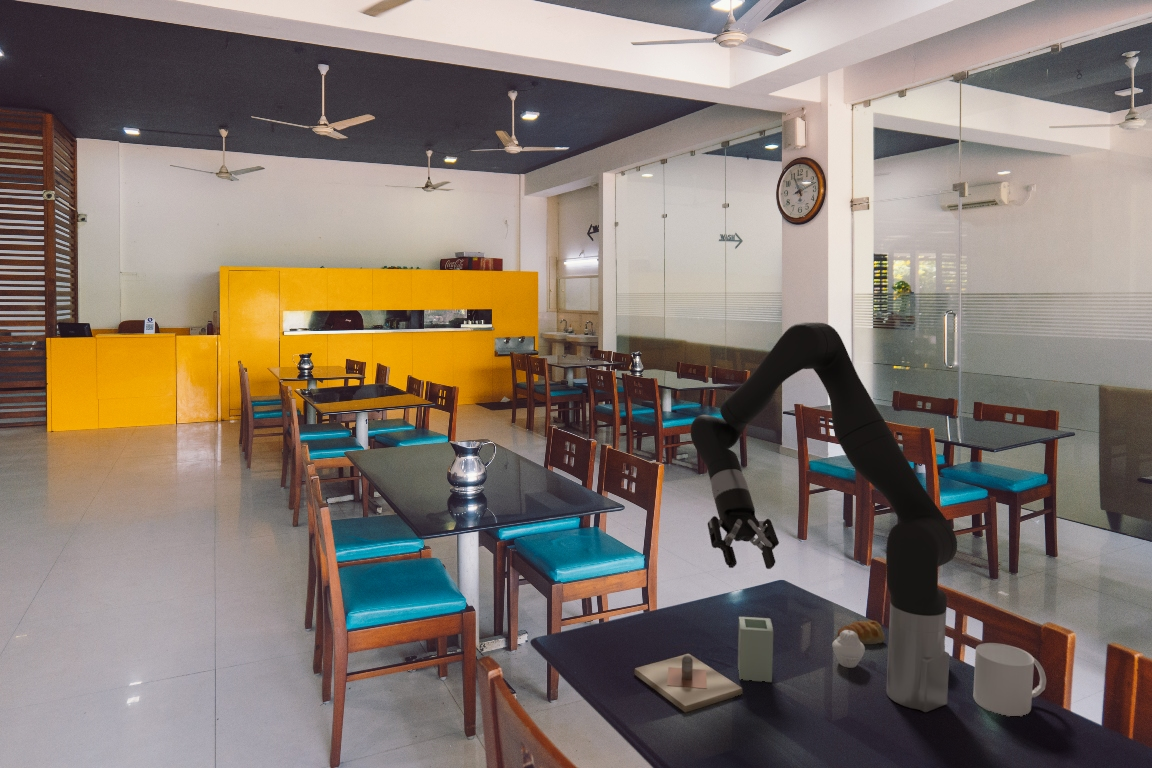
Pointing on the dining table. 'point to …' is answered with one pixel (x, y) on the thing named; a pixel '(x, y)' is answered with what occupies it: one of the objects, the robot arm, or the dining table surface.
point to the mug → (1005, 679)
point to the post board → (688, 682)
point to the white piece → (848, 649)
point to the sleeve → (755, 649)
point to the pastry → (866, 631)
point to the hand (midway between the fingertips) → (752, 566)
